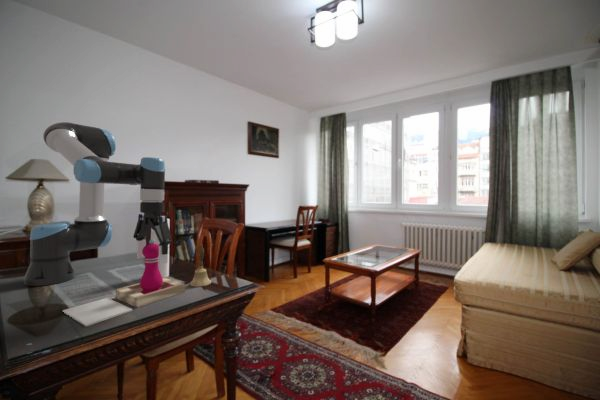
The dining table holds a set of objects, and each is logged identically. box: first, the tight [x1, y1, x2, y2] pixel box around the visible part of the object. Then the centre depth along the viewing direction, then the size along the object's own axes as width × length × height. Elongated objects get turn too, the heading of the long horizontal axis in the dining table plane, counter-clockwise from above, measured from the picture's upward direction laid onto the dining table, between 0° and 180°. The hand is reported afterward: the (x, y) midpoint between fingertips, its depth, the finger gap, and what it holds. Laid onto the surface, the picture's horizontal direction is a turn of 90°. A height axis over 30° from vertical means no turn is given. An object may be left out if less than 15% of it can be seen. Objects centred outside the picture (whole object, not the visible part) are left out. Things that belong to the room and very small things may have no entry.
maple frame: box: [115, 277, 186, 308], centre depth 96 cm, size 14×17×3 cm
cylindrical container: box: [150, 218, 171, 278], centre depth 117 cm, size 7×7×25 cm
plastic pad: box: [62, 297, 133, 327], centre depth 82 cm, size 16×12×1 cm
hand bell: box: [189, 243, 212, 288], centre depth 109 cm, size 8×8×16 cm
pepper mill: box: [139, 238, 163, 294], centre depth 96 cm, size 7×7×20 cm
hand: (151, 260), depth 96 cm, fingers open, 13 cm apart
